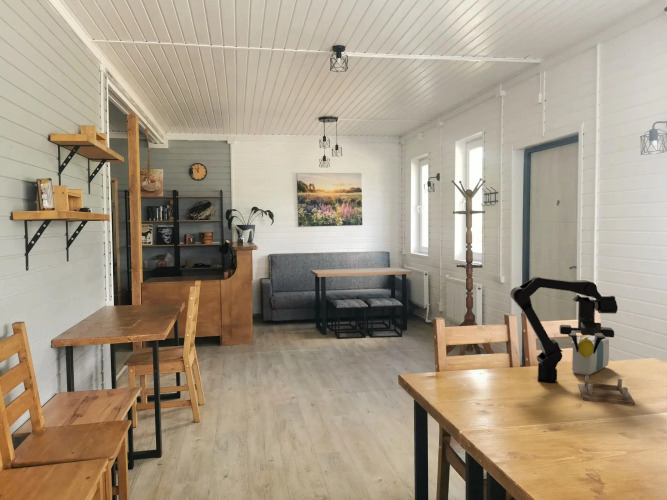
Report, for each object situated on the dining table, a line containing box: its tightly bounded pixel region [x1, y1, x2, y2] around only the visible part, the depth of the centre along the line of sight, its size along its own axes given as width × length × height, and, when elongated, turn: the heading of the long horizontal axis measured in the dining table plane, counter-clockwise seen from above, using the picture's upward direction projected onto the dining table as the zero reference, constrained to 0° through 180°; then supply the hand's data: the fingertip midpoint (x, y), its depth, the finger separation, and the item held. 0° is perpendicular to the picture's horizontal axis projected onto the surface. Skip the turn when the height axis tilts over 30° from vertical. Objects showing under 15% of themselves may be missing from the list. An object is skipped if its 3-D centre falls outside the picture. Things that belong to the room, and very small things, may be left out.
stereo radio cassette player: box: [570, 334, 610, 376], centre depth 214 cm, size 21×8×20 cm, turn 132°
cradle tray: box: [577, 375, 636, 406], centre depth 183 cm, size 16×16×5 cm
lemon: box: [578, 337, 594, 358], centre depth 198 cm, size 6×6×8 cm
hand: (585, 352), depth 198 cm, fingers closed on lemon, 5 cm apart
